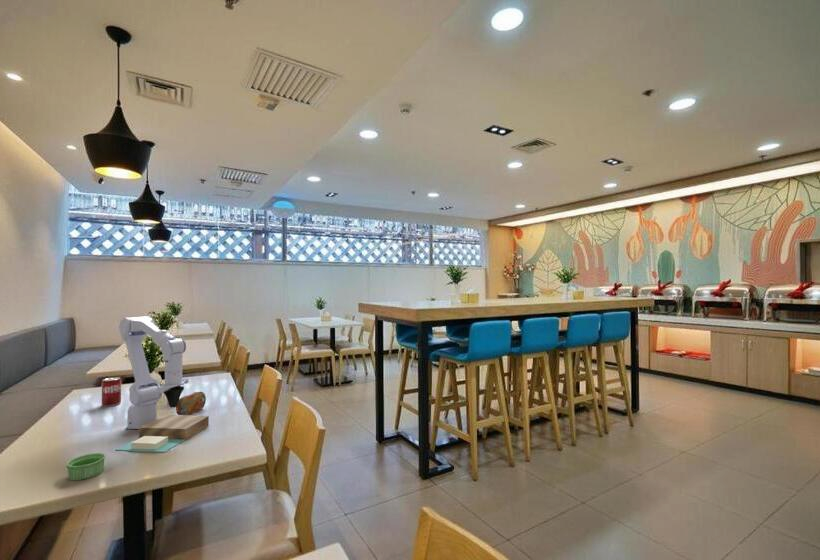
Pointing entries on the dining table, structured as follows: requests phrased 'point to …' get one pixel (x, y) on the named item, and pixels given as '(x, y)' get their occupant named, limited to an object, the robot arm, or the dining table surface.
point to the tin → (191, 403)
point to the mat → (163, 448)
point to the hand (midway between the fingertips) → (173, 406)
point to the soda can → (111, 391)
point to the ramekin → (85, 466)
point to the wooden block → (175, 426)
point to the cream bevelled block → (149, 442)
